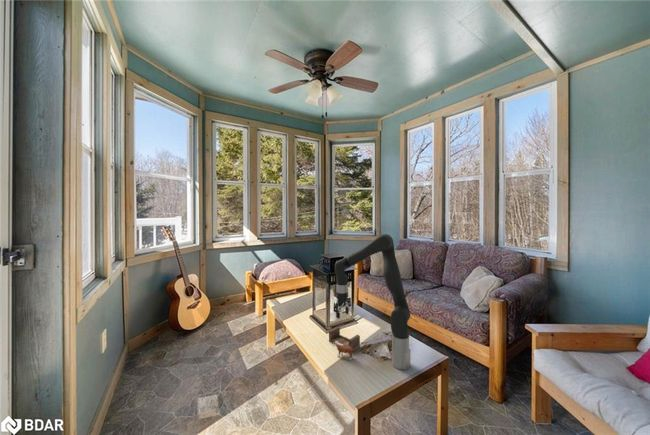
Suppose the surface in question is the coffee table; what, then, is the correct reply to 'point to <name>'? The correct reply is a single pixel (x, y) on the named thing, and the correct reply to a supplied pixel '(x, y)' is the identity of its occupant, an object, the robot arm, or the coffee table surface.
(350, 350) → the bull figurine
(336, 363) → the coffee table surface
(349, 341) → the keeper cradle
